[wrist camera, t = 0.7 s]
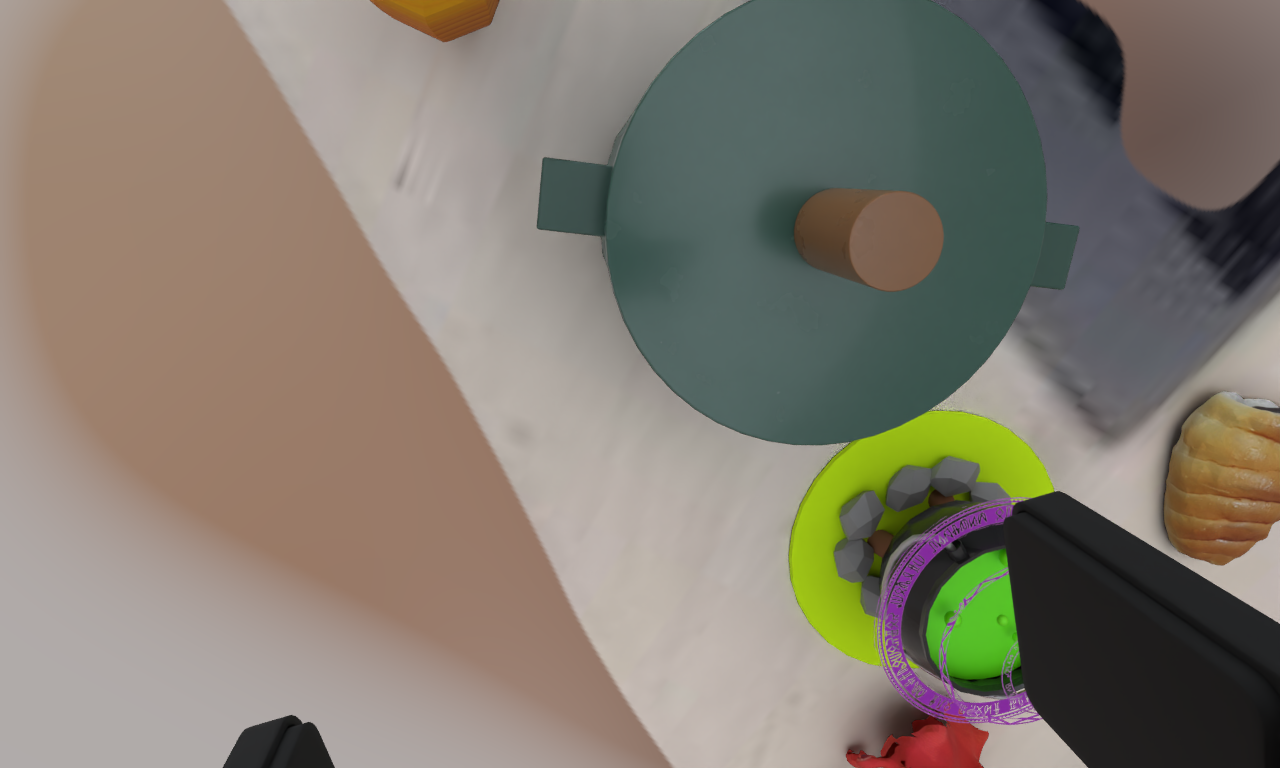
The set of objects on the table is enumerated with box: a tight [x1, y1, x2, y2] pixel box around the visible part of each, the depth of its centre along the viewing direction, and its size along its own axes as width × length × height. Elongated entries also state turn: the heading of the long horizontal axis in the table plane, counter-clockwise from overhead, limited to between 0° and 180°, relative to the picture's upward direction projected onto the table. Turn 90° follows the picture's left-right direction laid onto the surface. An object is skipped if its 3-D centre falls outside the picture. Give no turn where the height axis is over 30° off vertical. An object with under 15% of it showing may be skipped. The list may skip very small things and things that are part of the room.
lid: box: [604, 0, 1047, 445], centre depth 25 cm, size 16×16×6 cm
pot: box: [537, 115, 1079, 290], centre depth 32 cm, size 15×20×10 cm
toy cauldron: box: [789, 411, 1054, 725], centre depth 37 cm, size 15×15×11 cm
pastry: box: [1164, 391, 1280, 565], centre depth 41 cm, size 9×7×4 cm
